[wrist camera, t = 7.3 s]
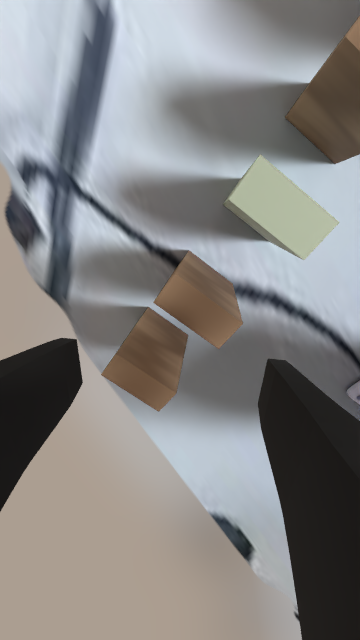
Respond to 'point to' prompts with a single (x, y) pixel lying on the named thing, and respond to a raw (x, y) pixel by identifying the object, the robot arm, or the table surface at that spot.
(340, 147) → the domino
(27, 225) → the table surface
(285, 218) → the domino
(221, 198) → the table surface
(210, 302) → the domino
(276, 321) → the table surface
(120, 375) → the domino
